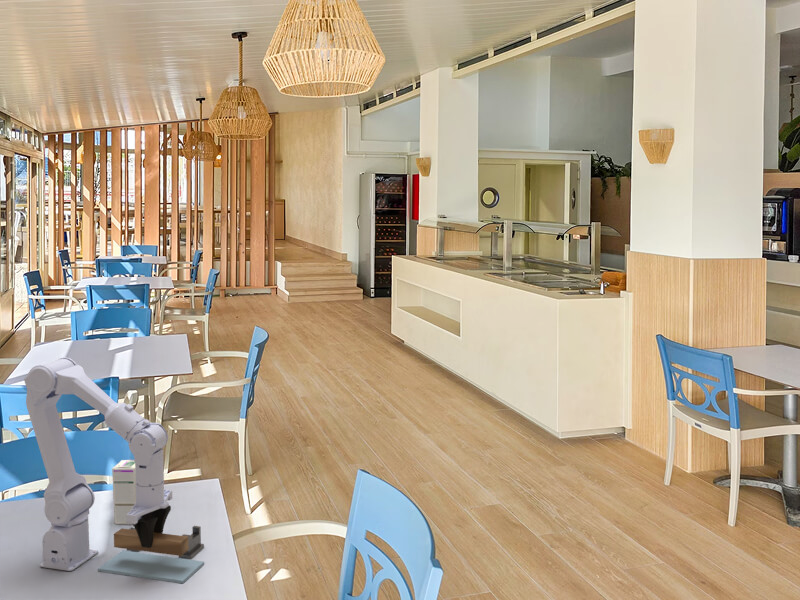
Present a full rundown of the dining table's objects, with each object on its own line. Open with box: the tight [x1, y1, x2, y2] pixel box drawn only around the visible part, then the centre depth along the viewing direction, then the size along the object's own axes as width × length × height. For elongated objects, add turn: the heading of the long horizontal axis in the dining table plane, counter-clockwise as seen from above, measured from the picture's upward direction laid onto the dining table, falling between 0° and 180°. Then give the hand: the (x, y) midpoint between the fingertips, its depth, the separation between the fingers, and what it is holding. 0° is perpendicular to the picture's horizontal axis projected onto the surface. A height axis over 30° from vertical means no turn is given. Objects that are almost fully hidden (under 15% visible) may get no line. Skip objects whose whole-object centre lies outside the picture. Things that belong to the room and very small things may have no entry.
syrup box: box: [111, 459, 136, 525], centre depth 190 cm, size 6×6×14 cm
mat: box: [97, 549, 205, 584], centre depth 166 cm, size 9×20×1 cm, turn 76°
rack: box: [126, 525, 205, 560], centre depth 175 cm, size 6×16×5 cm, turn 76°
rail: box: [113, 527, 188, 557], centre depth 165 cm, size 3×16×3 cm, turn 76°
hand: (151, 543), depth 165 cm, fingers closed on rail, 3 cm apart
